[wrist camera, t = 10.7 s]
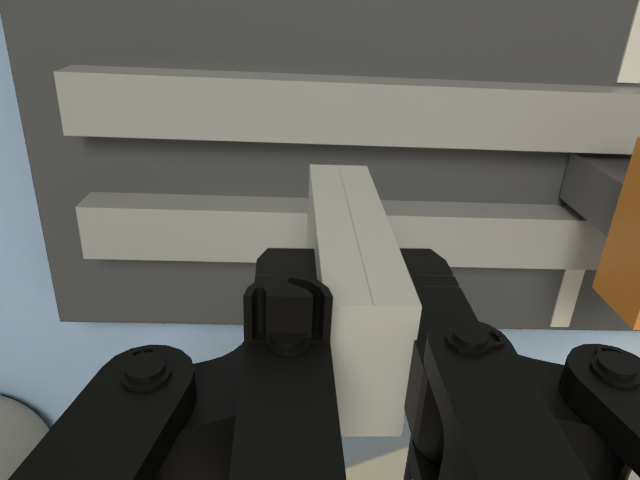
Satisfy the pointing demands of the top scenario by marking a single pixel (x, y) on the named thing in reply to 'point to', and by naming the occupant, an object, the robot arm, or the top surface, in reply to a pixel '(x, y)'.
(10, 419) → the cup
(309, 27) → the fader console
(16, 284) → the top surface
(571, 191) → the fader knob
